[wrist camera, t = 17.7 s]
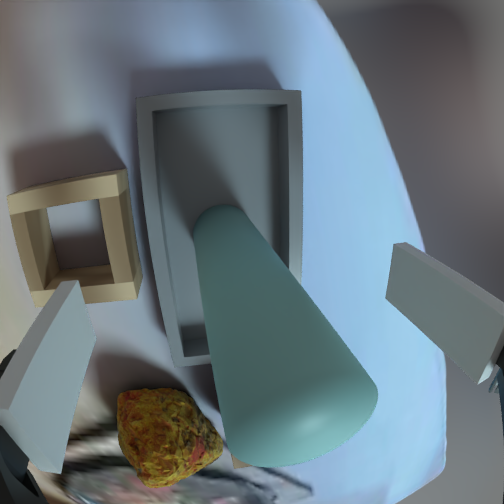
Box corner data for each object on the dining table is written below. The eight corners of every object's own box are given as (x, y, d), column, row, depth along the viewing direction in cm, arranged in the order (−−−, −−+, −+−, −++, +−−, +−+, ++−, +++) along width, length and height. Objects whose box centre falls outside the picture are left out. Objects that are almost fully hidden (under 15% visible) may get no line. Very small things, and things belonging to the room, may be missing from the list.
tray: (174, 345, 22) (174, 367, 19) (142, 103, 16) (135, 97, 13) (287, 329, 23) (297, 349, 21) (286, 95, 17) (300, 90, 15)
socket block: (51, 285, 18) (35, 307, 15) (29, 186, 15) (6, 195, 13) (142, 276, 19) (137, 299, 17) (127, 168, 17) (116, 174, 14)
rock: (213, 379, 29) (237, 468, 25) (143, 391, 29) (164, 474, 26) (165, 383, 19) (201, 513, 15) (76, 394, 19) (107, 507, 15)
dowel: (196, 264, 19) (233, 477, 6) (190, 207, 18) (217, 392, 5) (253, 257, 20) (360, 443, 7) (250, 201, 18) (393, 351, 6)
